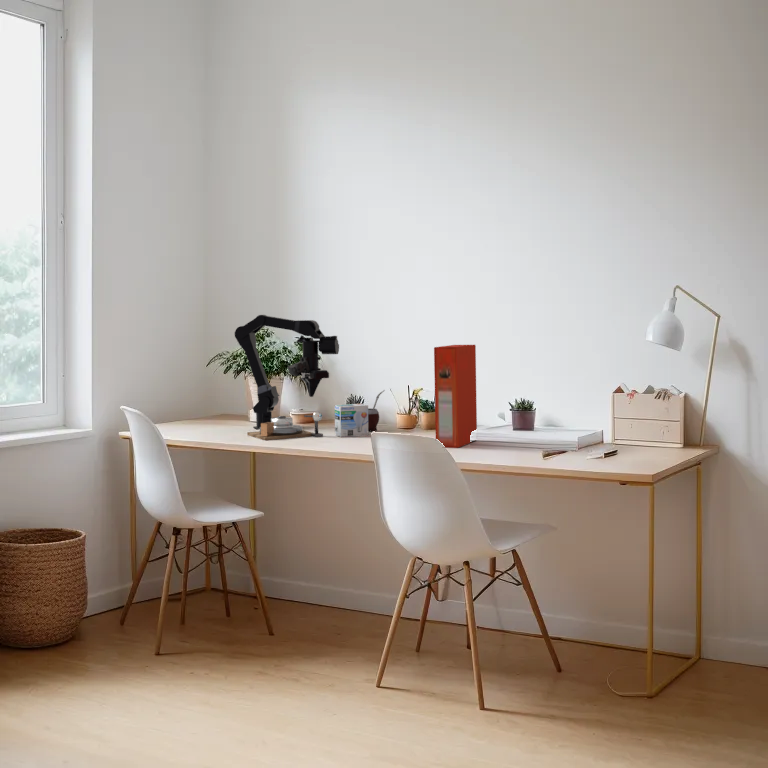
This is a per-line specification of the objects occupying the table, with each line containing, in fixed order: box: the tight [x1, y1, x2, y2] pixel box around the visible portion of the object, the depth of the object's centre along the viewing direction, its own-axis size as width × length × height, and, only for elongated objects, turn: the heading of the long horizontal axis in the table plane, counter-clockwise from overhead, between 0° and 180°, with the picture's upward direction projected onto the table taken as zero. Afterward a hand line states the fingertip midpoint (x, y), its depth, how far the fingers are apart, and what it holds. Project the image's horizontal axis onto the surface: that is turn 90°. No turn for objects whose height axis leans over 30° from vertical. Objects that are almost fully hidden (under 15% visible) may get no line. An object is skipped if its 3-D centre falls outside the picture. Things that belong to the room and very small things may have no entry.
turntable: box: [259, 422, 303, 436], centre depth 348 cm, size 15×18×4 cm
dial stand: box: [303, 411, 324, 438], centre depth 347 cm, size 5×5×9 cm
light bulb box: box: [334, 403, 369, 438], centre depth 348 cm, size 11×7×11 cm, turn 112°
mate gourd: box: [368, 389, 386, 433], centre depth 359 cm, size 8×8×15 cm
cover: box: [271, 415, 295, 429], centre depth 350 cm, size 8×8×4 cm
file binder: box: [433, 344, 478, 449], centre depth 323 cm, size 8×17×32 cm, turn 155°
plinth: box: [247, 429, 314, 441], centre depth 350 cm, size 16×19×1 cm
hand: (311, 396), depth 367 cm, fingers closed
